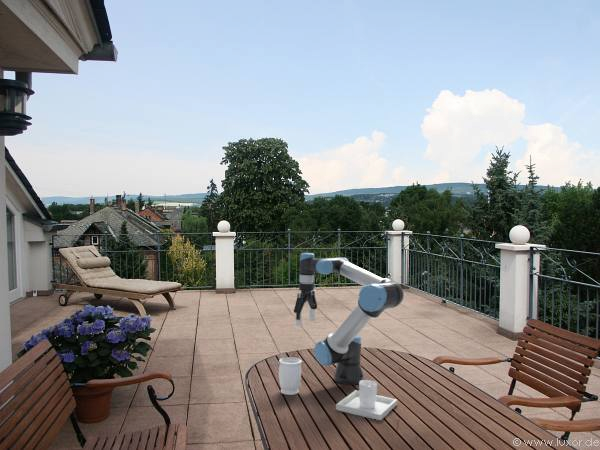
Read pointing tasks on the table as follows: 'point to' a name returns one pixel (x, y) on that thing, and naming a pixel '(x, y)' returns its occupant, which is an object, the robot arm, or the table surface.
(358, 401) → the grey tray
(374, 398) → the white cup
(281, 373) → the jar
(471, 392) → the table surface
